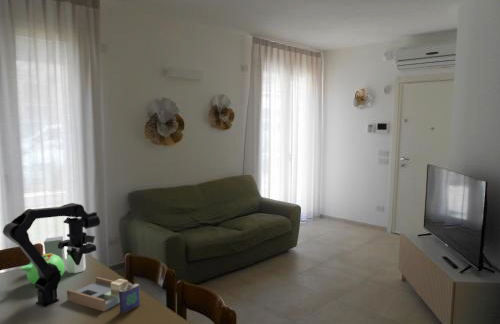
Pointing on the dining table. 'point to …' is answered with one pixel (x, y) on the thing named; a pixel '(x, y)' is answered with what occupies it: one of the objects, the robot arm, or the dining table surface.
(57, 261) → the toy bird
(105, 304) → the box
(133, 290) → the blue green box
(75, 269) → the jar
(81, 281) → the dining table surface
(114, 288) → the block
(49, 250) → the skincare box
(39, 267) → the robot arm
